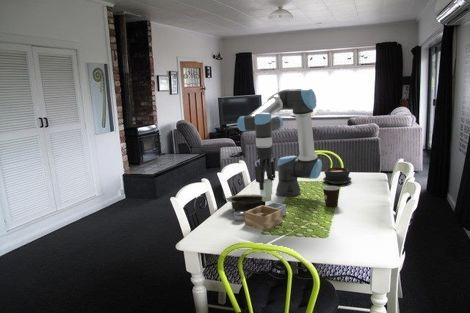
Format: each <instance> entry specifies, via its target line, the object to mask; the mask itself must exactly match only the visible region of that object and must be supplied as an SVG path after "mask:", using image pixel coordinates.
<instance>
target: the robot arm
mask: <svg viewBox="0 0 470 313" xmlns="http://www.w3.org/2000/svg"><path fill="white" fill-rule="evenodd" d="M316 108H317V98H316V94H315V91H314V90H313V89H312V88H305V87H301V88H291V89H289V88H288V89H282V90H280V91H278V92H276V93H274V94H272V95H271V96H270V97H269V98H268V99H267V101H266V102H264V103H263V104H262V105H260V106H258V108H256V109H255V110H254V111H252V112H251V113H250V114H248V115H242V116H239V117H238V119H237V122H236V123H237V128H238V130H239V131H241V132H254V133H255V146H256V148H255V150H256V152H255V153H256V156H257V159H256V161H254V162H253V166H254V175H255V182H256V183H258V184H259V186H258V187H259V190H260V191H259V192H260V193H259V195H261V196H263V197H266V187H265V183H264V179H265V174H266V179H270V180H271V195H273V182H274V181H275V179H276V160H277V158H276V157H272V155H273V152H274V151H273V135H272V132H277V131H279V130H280V129H282V127H283V125H284V119H283V118H282V116H280V115H279V114H275V113H279V112H280V111H288V110H289V111H292V114H293V115H294V116H295V120H296V121H295V122H296V129H297V130H296V132H297V139H298V140H297V141H298V147H299V148H298V149H299V155H298V156H297V155H287V156H286V155H285V156H283V157H280V158H278V160H277V176H278V182H277V185H276V190H275V191H276V192H275V194H276V195H277V196H280V197H294V196H295V197H296V196H299V195H300V194H301V187H300V185H299V180H298V179H310V180H311V179H316V180H317V179H318V178H319V177H320V175H321V173H322V169H323V168H322V167H323V163H322V162H323V161H322V160H321V159H320V158H318V155H317V154H316V153H315V142H314V134H313V132H314V131H313V123H312V114H313V113H314V110H315V109H316Z"/></svg>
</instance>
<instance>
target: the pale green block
mask: <svg viewBox="0 0 470 313" xmlns="http://www.w3.org/2000/svg"><path fill="white" fill-rule="evenodd" d="M264 183H265V187H266V197H263V196H262V201H264V202H266V203H268V202H271V201H272V194H271V180H270V179H267V178H264Z"/></svg>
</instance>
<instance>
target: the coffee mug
mask: <svg viewBox="0 0 470 313" xmlns="http://www.w3.org/2000/svg"><path fill="white" fill-rule="evenodd" d="M322 190H323V191H322V192H323V197H324V204H325V207H327V208H330V207H331V209H332V208H338V205H339V195H340V187H339V186H336V185H326V186H323V187H322Z"/></svg>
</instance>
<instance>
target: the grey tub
mask: <svg viewBox="0 0 470 313" xmlns="http://www.w3.org/2000/svg"><path fill="white" fill-rule="evenodd" d="M265 206H267V207H272V208H276V209H281V210H282V215H283V217H284V216H286V215H287V204H286V203H285V204H283V203H280V202H274V201H273V202H271V203H268V204H265Z"/></svg>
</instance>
